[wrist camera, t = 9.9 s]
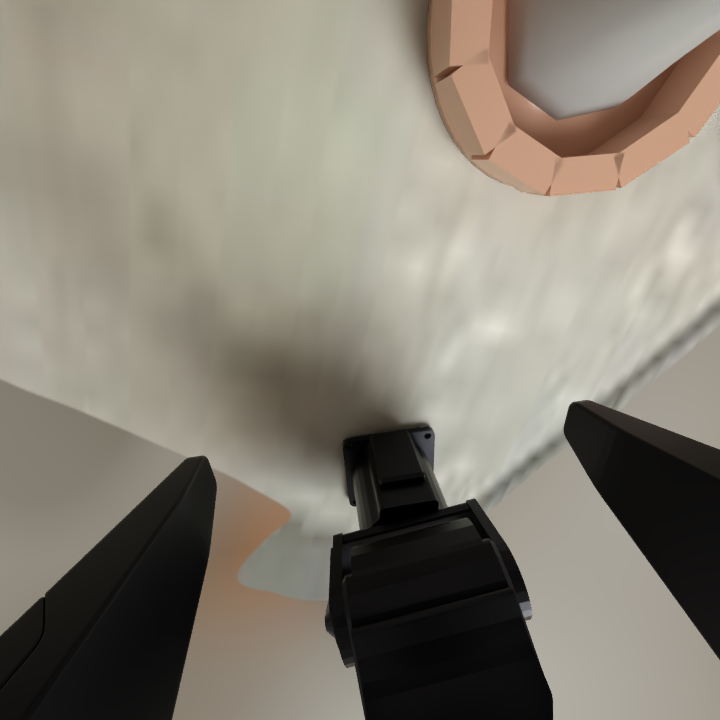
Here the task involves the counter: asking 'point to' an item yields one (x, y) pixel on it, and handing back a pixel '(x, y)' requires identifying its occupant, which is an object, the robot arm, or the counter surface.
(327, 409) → the counter surface
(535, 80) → the flask
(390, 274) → the counter surface
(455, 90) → the dish
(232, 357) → the counter surface
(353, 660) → the robot arm
